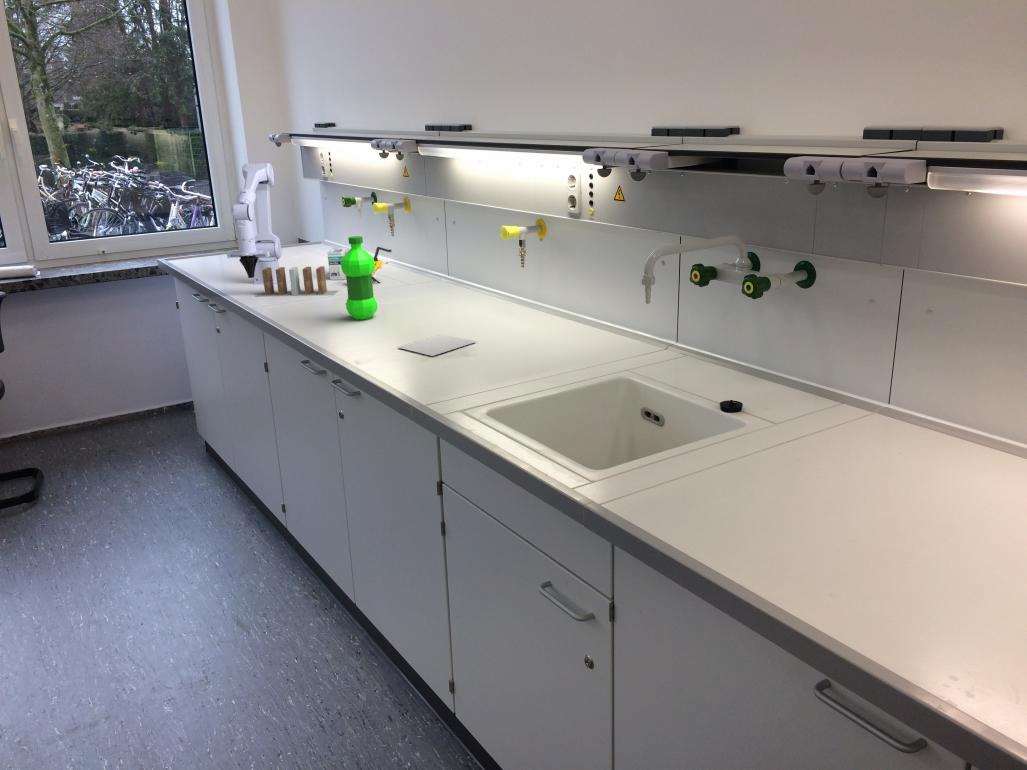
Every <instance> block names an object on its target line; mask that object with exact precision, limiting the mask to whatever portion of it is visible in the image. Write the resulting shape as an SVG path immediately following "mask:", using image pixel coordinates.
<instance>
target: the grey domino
mask: <svg viewBox="0 0 1027 770" xmlns="http://www.w3.org/2000/svg"><path fill="white" fill-rule="evenodd" d="M288 271H289V281H290V288H291V291H292V295H297V294H299V293H300V292H301V291H302V290H301V285H300V283H301V281H300V275H299V267H298V266H292V267H291V268H289V269H288Z"/></svg>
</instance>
